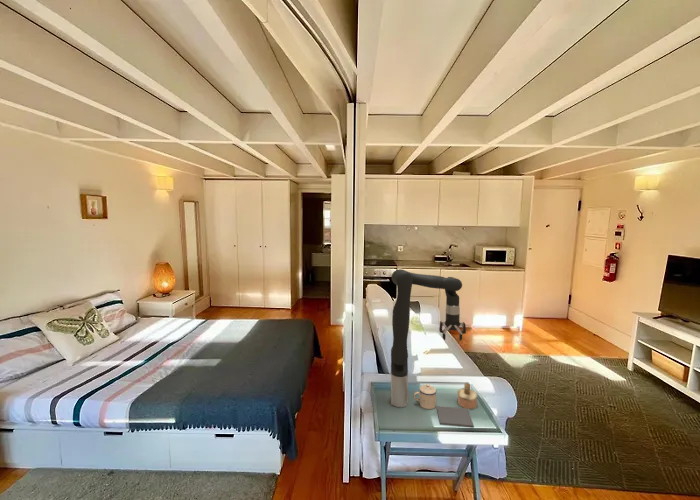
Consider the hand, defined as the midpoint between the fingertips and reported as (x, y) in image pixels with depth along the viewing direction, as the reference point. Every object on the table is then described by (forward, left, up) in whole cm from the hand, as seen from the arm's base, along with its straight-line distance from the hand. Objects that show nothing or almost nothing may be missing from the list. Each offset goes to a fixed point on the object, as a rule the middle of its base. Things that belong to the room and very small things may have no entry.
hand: (452, 339), depth 176 cm
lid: (+7, -8, -28) cm, 30 cm away
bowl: (+7, -8, -33) cm, 35 cm away
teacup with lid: (-16, -12, -33) cm, 39 cm away
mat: (-2, -21, -33) cm, 39 cm away
